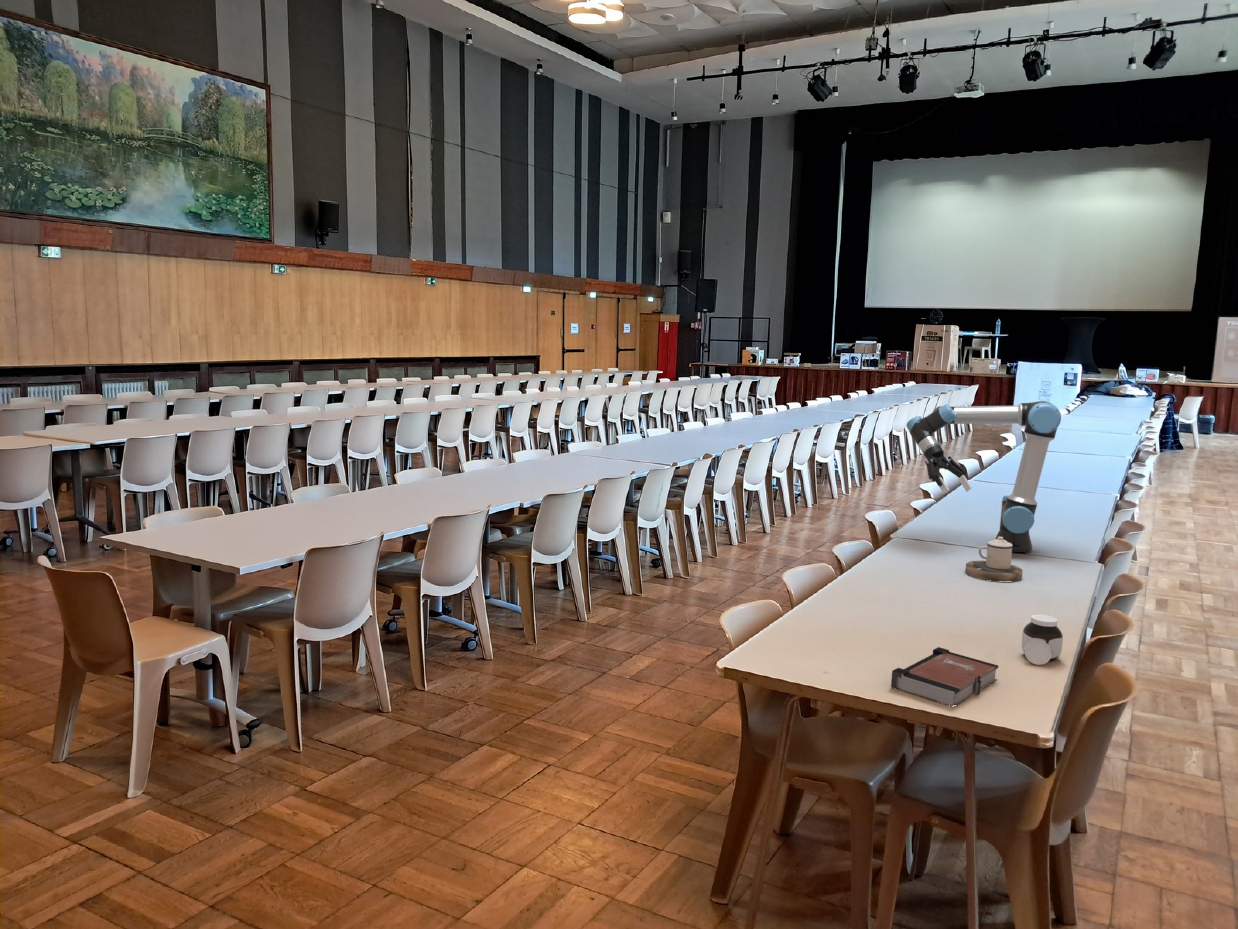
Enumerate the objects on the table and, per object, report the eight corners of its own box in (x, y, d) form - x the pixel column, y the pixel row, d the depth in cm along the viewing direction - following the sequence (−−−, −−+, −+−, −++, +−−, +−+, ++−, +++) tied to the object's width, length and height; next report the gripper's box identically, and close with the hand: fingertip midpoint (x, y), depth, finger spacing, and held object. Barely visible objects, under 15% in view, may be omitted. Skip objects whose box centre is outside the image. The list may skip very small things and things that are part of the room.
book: (956, 710, 221) (957, 691, 220) (890, 689, 233) (892, 670, 232) (999, 682, 239) (1001, 664, 239) (936, 664, 252) (938, 647, 251)
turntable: (988, 565, 358) (988, 557, 357) (1033, 578, 341) (1034, 569, 340) (954, 571, 348) (954, 563, 347) (998, 585, 331) (999, 576, 330)
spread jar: (1050, 652, 262) (1054, 614, 260) (1071, 667, 251) (1075, 627, 249) (1010, 652, 261) (1013, 613, 259) (1029, 667, 250) (1033, 626, 248)
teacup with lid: (1013, 566, 344) (1015, 536, 343) (1008, 571, 337) (1011, 540, 335) (980, 561, 351) (982, 532, 349) (974, 566, 344) (977, 536, 342)
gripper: (946, 453, 385) (972, 493, 375) (904, 456, 373) (931, 498, 362) (957, 442, 380) (984, 483, 370) (916, 445, 368) (942, 487, 357)
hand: (958, 490), depth 366 cm, fingers open, 13 cm apart
